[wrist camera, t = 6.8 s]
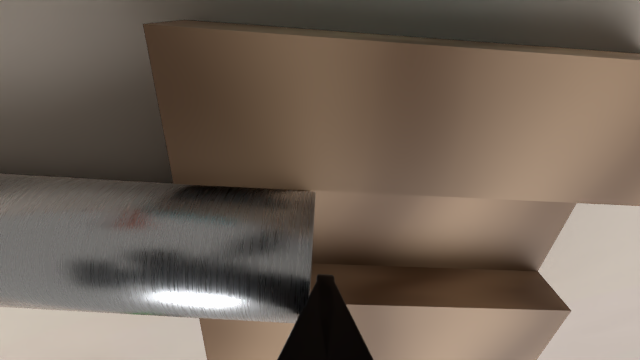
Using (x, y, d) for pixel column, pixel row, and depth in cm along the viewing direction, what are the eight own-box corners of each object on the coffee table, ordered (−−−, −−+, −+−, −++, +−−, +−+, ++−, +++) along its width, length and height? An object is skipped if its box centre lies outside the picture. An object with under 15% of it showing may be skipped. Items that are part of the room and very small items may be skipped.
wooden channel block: (645, 53, 10) (743, 67, 7) (499, 320, 16) (529, 370, 14) (184, 19, 9) (142, 24, 7) (223, 313, 15) (208, 364, 13)
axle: (317, 169, 11) (310, 250, 7) (312, 257, 12) (305, 354, 9) (-92, 146, 10) (-302, 215, 7) (-32, 237, 12) (-173, 326, 9)
